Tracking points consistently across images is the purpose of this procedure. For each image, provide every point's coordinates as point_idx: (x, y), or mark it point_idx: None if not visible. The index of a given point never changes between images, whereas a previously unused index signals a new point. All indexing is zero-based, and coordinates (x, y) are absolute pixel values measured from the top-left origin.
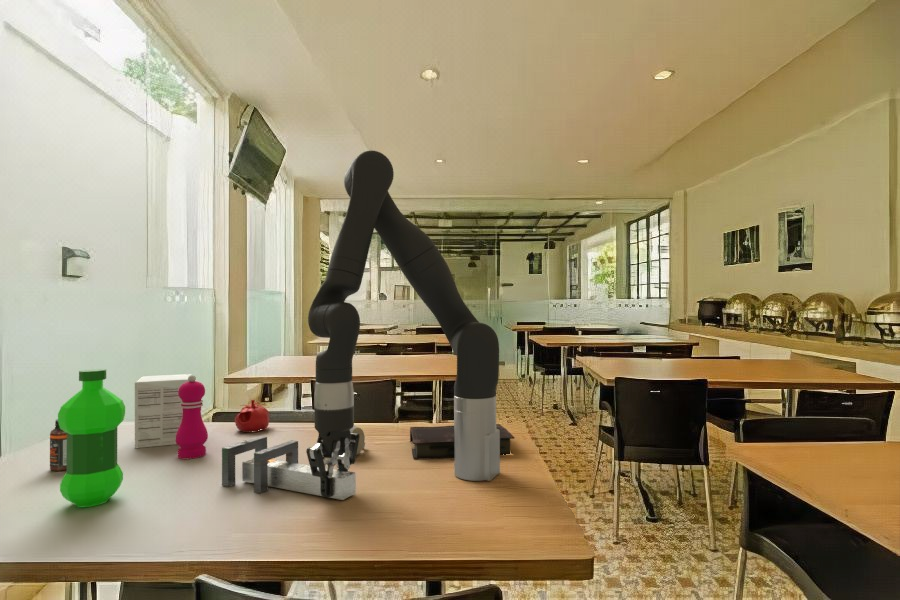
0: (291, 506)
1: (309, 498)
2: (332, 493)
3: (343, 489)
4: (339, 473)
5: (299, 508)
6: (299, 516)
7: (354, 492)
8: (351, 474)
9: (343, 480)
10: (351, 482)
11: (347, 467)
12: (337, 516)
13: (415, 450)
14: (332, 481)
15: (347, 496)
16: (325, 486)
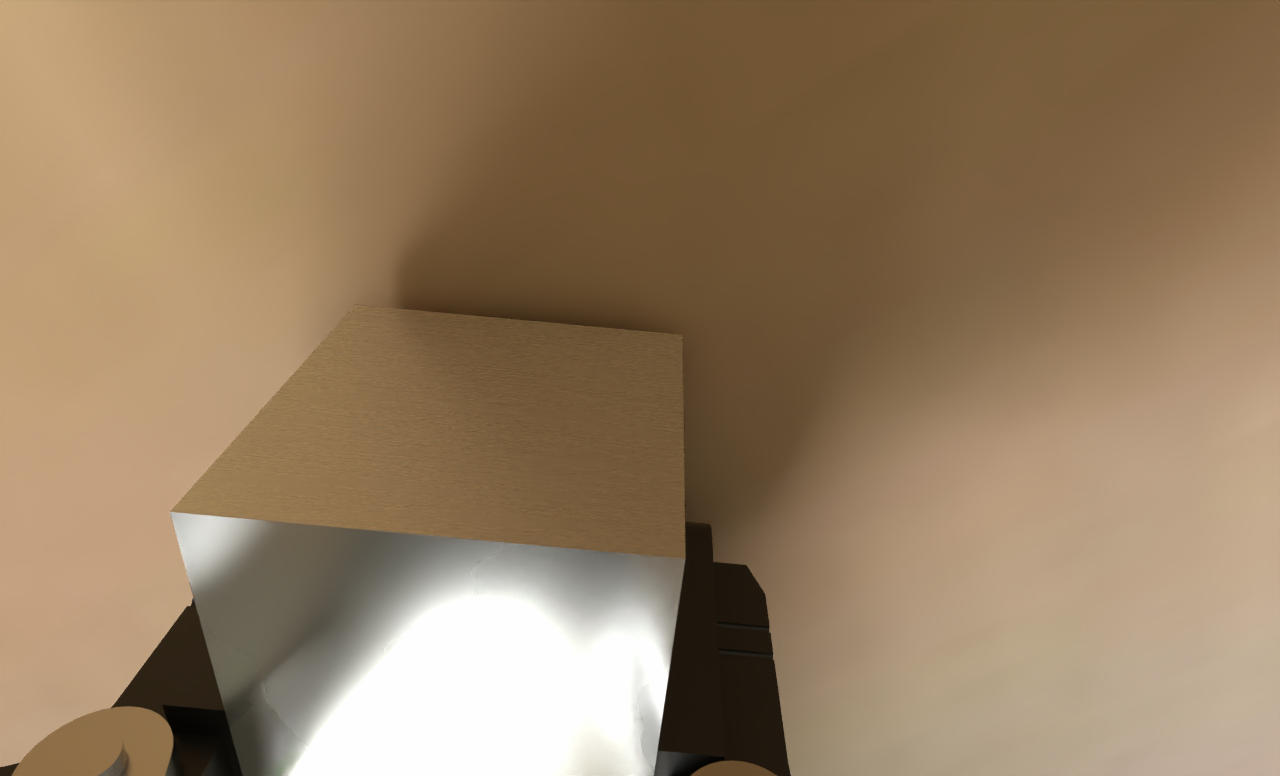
0: (954, 739)
1: None
2: None
3: (670, 416)
4: (417, 741)
5: (996, 660)
6: (1239, 559)
7: (382, 314)
8: (334, 529)
9: (660, 526)
10: (402, 422)
11: (131, 757)
12: (1244, 103)
13: None
14: None
15: (568, 331)
16: (771, 685)
